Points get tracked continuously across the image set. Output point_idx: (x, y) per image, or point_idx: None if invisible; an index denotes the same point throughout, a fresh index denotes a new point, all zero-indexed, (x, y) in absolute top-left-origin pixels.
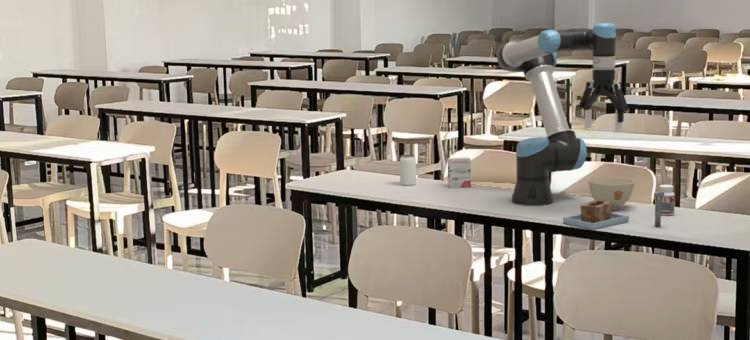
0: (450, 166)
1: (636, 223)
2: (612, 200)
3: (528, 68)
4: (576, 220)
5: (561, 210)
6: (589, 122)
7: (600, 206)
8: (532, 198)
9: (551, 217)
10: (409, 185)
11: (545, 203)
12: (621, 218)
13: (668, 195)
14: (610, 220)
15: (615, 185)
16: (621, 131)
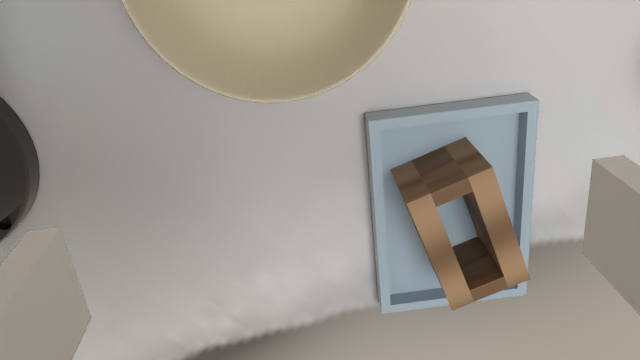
0: None
1: (567, 85)
2: (349, 16)
3: None
4: (446, 303)
5: (179, 170)
6: (41, 317)
7: (522, 264)
8: (11, 227)
9: (269, 274)
10: None
11: (35, 160)
12: (534, 145)
13: None
14: (531, 207)
15: (390, 36)
16: (621, 160)
